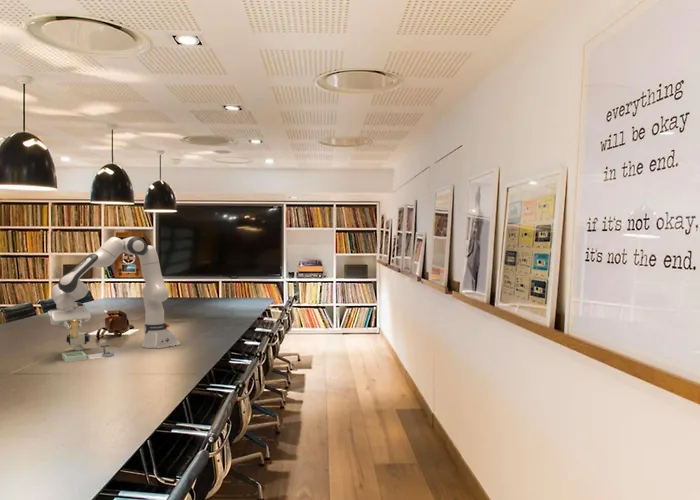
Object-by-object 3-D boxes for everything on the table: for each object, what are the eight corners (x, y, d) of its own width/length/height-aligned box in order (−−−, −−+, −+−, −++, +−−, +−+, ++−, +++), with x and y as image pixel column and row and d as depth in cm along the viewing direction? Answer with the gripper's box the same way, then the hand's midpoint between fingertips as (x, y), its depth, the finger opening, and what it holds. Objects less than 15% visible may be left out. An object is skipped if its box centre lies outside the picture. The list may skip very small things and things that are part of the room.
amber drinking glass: (77, 336, 270) (78, 318, 270) (79, 338, 266) (79, 319, 266) (68, 337, 267) (69, 319, 267) (70, 338, 264) (70, 320, 264)
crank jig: (110, 353, 284) (111, 341, 284) (116, 357, 275) (116, 345, 275) (86, 356, 276) (86, 343, 276) (90, 360, 267) (90, 347, 267)
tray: (82, 357, 275) (82, 351, 275) (86, 361, 265) (86, 355, 265) (61, 359, 269) (61, 353, 268) (65, 364, 259) (65, 357, 259)
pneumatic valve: (88, 352, 288) (88, 331, 288) (66, 352, 284) (66, 332, 284) (90, 350, 293) (90, 330, 293) (68, 350, 290) (68, 330, 290)
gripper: (48, 306, 262) (56, 327, 257) (87, 303, 279) (95, 322, 273) (44, 314, 265) (52, 334, 259) (83, 310, 281) (91, 329, 276)
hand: (74, 328), depth 266 cm, fingers closed on amber drinking glass, 4 cm apart
